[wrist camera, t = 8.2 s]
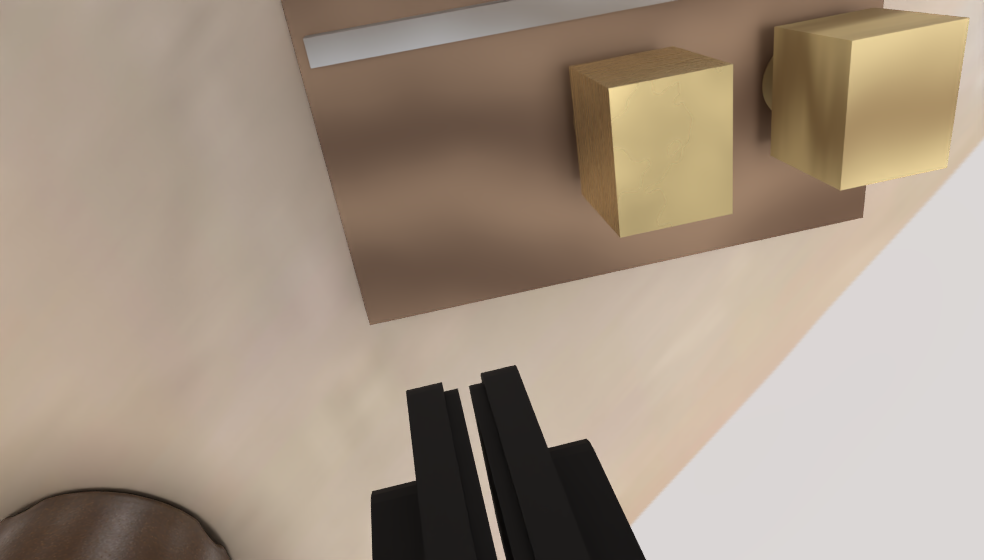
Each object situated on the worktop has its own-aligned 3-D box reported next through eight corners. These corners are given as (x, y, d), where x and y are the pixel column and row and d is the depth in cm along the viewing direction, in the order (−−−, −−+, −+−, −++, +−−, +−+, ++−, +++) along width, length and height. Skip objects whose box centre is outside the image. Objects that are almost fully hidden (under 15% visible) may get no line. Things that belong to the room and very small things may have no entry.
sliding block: (560, 61, 26) (608, 88, 21) (661, 42, 26) (733, 64, 21) (573, 185, 28) (620, 237, 23) (666, 166, 29) (732, 213, 23)
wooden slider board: (279, -24, 25) (247, -15, 18) (869, -128, 27) (1041, -155, 20) (370, 309, 31) (370, 408, 24) (842, 206, 33) (966, 272, 26)
